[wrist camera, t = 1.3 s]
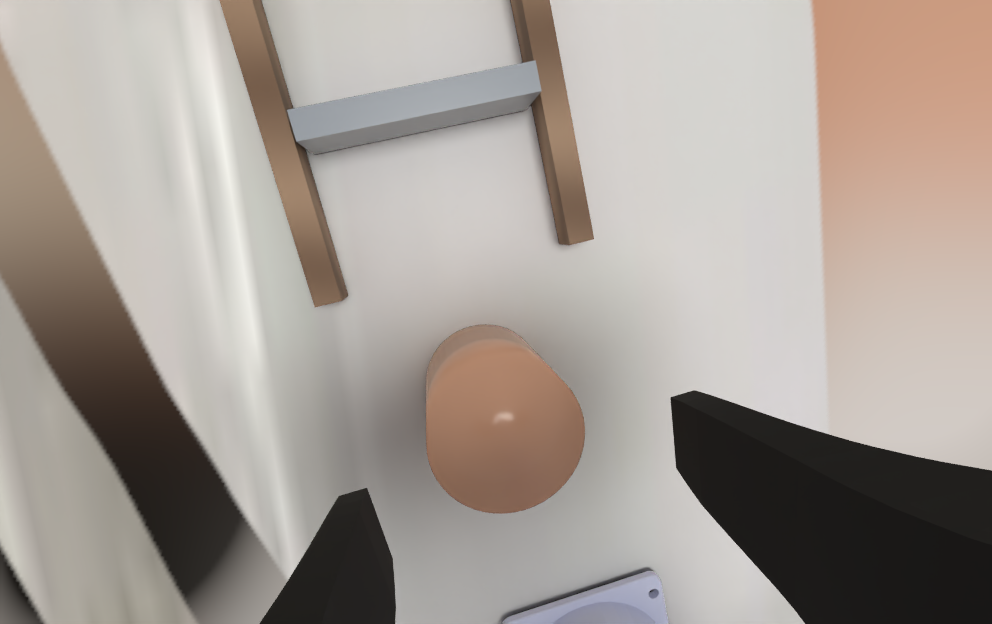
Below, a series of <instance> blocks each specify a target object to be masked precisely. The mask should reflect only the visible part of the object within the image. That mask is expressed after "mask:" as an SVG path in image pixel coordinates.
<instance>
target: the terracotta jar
mask: <svg viewBox="0 0 992 624" xmlns="http://www.w3.org/2000/svg"><path fill="white" fill-rule="evenodd" d="M584 439H585V425H584V418H583V414H582V411H581V408H580V405H579V403H578V401H577V399H576V397H575V396H574V394H573V392H572V391H571V390H570V388H569V387H568V386H567V385H566V384H565V383H564V382H563V380H562V379H561V378H560V377H559V376H558V375H557V374H556V373H555V372H554V371H553V370H552V369H551V368H550V367H549V366H548V365H547V364H546V363H545V361H544V360H543V359H542V358H541V357H540V356H539V355H538V354H537V353H536V352H535V351H534V350H533V349H532V348H531V347H530V346H529V345H528V343H527V342H526V341H525V340H523V339H522V338H521V337H520V336H519V335H517V334H516V333H514V332H513V331H511V330H509V329H506V328H503V327H501V326H496V325H486V324H485V325H475V326H470V327H467V328H464V329H462V330H459V331H457V332H456V333H454V334H452V335H451V336H449V337H448V338H447V339H446V340H445V341H444V342H443V343H442V344H441V345H440V346H439V347H438V348H437V350H436V351H435V353H434V354H433V356H432V358H431V360H430V363H429V366H428V370H427V375H426V445H427V455H428V460H429V464H430V466H431V469H432V472H433V474H434V476H435V477H436V479H437V481H438V482H439V484H440V485H441V486H442V488H443V489H444V490H445V491H446V492H447V493H448V494H449V495H450V496H452V497H453V498H454V499H455V500H457V501H458V502H460V503H462V504H464V505H465V506H468V507H470V508H472V509H475V510H479V511H482V512H488V513H512V512H518V511H522V510H526V509H528V508H531V507H534V506H536V505H538V504H540V503H542V502H544V501H545V500H547V499H548V498H550V497H551V496H552V495H554V494H555V493H556V492H557V491H558V490H559V489H560V488H561V487H562V486H563V485H564V484H565V483H566V482H567V481H568V479H569V478H570V476H571V475H572V474H573V472H574V470H575V468H576V467H577V465H578V462H579V460H580V457H581V454H582V450H583V447H584Z"/></svg>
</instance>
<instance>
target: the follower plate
mask: <svg viewBox="0 0 992 624" xmlns="http://www.w3.org/2000/svg"><path fill="white" fill-rule="evenodd" d="M541 91H542V90H541V85H540V80H539V75H538V70H537V65H536V60H535V61H530V62H525V63H520V64H515V65H510V66H505V67H500V68H495V69H490V70H485V71H480V72H475V73H470V74H465V75H460V76H455V77H450V78H445V79H440V80H435V81H430V82H424V83H419V84H414V85H409V86H404V87H399V88H394V89H389V90H384V91H379V92H374V93H369V94H364V95H359V96H354V97H349V98H344V99H339V100H334V101H329V102H324V103H319V104H314V105H309V106H304V107H299V108H294V109H289V110H287V112H288V115H289V119H290V122H291V125H292V129H293V132H294V135H295V139H296V142H298V143H299V144H300V145H302V146H303V147H304V148H306V149H307V150H308V151H310V152H311V153H313V154H314V155H315V154H319V153H324V152H329V151H334V150H338V149H343V148H348V147H353V146H357V145H362V144H367V143H372V142H377V141H381V140H386V139H391V138H396V137H400V136H405V135H410V134H415V133H419V132H424V131H429V130H434V129H438V128H443V127H448V126H453V125H457V124H462V123H467V122H472V121H477V120H481V119H486V118H491V117H496V116H500V115H505V114H510V113H515V112H519V111H524V110H527V109H528V107H529V106H530V105H531V104H532V102H533V101H534V100H535V99H536V97H537V96H538V95H539V94H540V92H541Z"/></svg>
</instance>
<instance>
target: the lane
mask: <svg viewBox="0 0 992 624" xmlns="http://www.w3.org/2000/svg"><path fill="white" fill-rule="evenodd" d="M510 1H511V6H512V11H513V16H514V21H515V26H516V31H517V36H518V41H519V46H520V51H521V56H522V61H523V63H525V62H530V61H535V60H536V65H537V70H538V75H539V80H540V85H541V90H542V91H541V92H540V94H539V95H538V96H537V97H536V99H535V100H534V101H533V102H532V104H531V105H532V110H533V115H534V120H535V125H536V130H537V135H538V140H539V145H540V150H541V155H542V160H543V165H544V170H545V175H546V180H547V185H548V190H549V195H550V200H551V205H552V210H553V215H554V220H555V225H556V230H557V235H558V240H559V244H564V245H572V244H576V243H580V242H584V241H588V240H592V239H594V236H593V231H592V225H591V220H590V215H589V209H588V204H587V199H586V193H585V188H584V183H583V177H582V172H581V166H580V161H579V156H578V150H577V145H576V140H575V134H574V129H573V123H572V118H571V113H570V107H569V102H568V97H567V91H566V86H565V81H564V75H563V70H562V64H561V59H560V54H559V48H558V43H557V38H556V32H555V27H554V22H553V16H552V11H551V5H550V0H510ZM220 3H221V7H222V10H223V13H224V16H225V19H226V23H227V26H228V29H229V32H230V35H231V39H232V42H233V45H234V48H235V52H236V55H237V58H238V61H239V64H240V68H241V71H242V74H243V77H244V81H245V84H246V87H247V90H248V93H249V97H250V100H251V103H252V106H253V109H254V113H255V116H256V119H257V122H258V126H259V129H260V132H261V135H262V138H263V142H264V145H265V148H266V151H267V155H268V158H269V161H270V164H271V167H272V171H273V174H274V177H275V180H276V183H277V187H278V190H279V193H280V196H281V200H282V203H283V206H284V209H285V212H286V216H287V219H288V222H289V225H290V229H291V232H292V235H293V238H294V241H295V245H296V248H297V251H298V254H299V257H300V261H301V264H302V267H303V270H304V274H305V277H306V280H307V283H308V286H309V290H310V293H311V296H312V299H313V303H314V306H315V307H318V306H322V305H326V304H331V303H335V302H339V301H342V300H343V299H345V298H346V297H347V296H348V293H347V289H346V286H345V283H344V279H343V276H342V272H341V269H340V266H339V262H338V259H337V256H336V252H335V249H334V245H333V242H332V239H331V235H330V232H329V228H328V225H327V222H326V218H325V215H324V211H323V208H322V205H321V201H320V198H319V195H318V191H317V188H316V184H315V181H314V178H313V174H312V171H311V167H310V164H309V161H308V157H307V154H306V150H305V148H304V147H303V146H302V145H300V144H299V143H298V142H296V139H295V135H294V132H293V129H292V125H291V122H290V119H289V115H288V112H287V110H289V109H293V106H292V103H291V100H290V96H289V93H288V89H287V86H286V83H285V79H284V76H283V73H282V69H281V66H280V62H279V59H278V56H277V52H276V49H275V45H274V42H273V39H272V35H271V32H270V28H269V25H268V22H267V18H266V15H265V12H264V8H263V5H262V1H261V0H220Z"/></svg>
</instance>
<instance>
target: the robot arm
mask: <svg viewBox="0 0 992 624" xmlns="http://www.w3.org/2000/svg"><path fill="white" fill-rule="evenodd" d="M671 409H672V421H673V433H674V446H675V458H676V468H677V470H678V471H679V473H680V474H681V476H682V477H683V479H684V480H685V482H686V483H687V485H688V486H689V488H690V489H691V490H692V492H693V493H694V495H695V496H696V497H697V499H698V500H699V502H700V503H701V504H702V506H703V507H704V508H705V509H706V510H707V511H708V512H709V514H710V515H711V516H712V517H713V518H714V519H715V520H716V522H717V523H718V524H719V525H720V526H721V527H722V528H723V529H724V531H725V532H726V533H727V534H728V535H729V536H730V537H731V538H732V539H733V541H734V542H735V543H736V544H737V545H738V546H739V547H740V548H741V549H742V550H743V552H744V553H745V554H746V555H747V556H748V557H749V558H750V559H751V560H752V562H753V563H754V564H755V565H756V566H757V567H758V568H759V569H760V570H761V572H762V573H763V574H764V575H765V576H766V577H767V578H768V579H769V580H770V581H771V583H772V584H773V585H774V586H775V587H776V588H777V589H778V590H779V592H780V593H781V594H782V595H783V596H784V598H785V599H786V600H787V601H788V602H789V604H790V605H791V606H792V607H793V608H794V609H795V611H796V612H797V613H798V615H799V616H800V617H801V619H802V620H803V621H804V623H805V624H992V471H991V470H985V469H979V468H973V467H968V466H962V465H957V464H951V463H945V462H939V461H934V460H930V459H925V458H919V457H915V456H911V455H906V454H902V453H898V452H894V451H889V450H885V449H881V448H876V447H872V446H868V445H864V444H860V443H857V442H853V441H849V440H846V439H842V438H839V437H835V436H832V435H829V434H825V433H822V432H819V431H815V430H812V429H809V428H806V427H802V426H799V425H796V424H793V423H790V422H787V421H784V420H781V419H778V418H775V417H772V416H769V415H766V414H763V413H761V412H758V411H755V410H752V409H749V408H746V407H743V406H740V405H738V404H735V403H732V402H729V401H726V400H723V399H720V398H717V397H714V396H711V395H708V394H705V393H701V392H698V391H691V392H687V393H684V394H681V395H677V396H674V397H671ZM652 589H654V590H653V591H652V592H650V590H652ZM395 611H396V603H395V585H394V571H393V558H392V555H391V553H390V550H389V547H388V544H387V542H386V539H385V536H384V534H383V531H382V528H381V525H380V523H379V520H378V517H377V514H376V512H375V509H374V506H373V503H372V501H371V498H370V495H369V492H368V490H367V488H365V489H362V490H358V491H355V492H351V493H348V494H345V495H341V496H339V497H338V498H337V500H336V502H335V503H334V505H333V507H332V508H331V510H330V512H329V513H328V515H327V517H326V518H325V520H324V522H323V524H322V525H321V527H320V529H319V530H318V532H317V534H316V536H315V537H314V539H313V541H312V542H311V544H310V546H309V547H308V549H307V551H306V552H305V554H304V556H303V557H302V559H301V561H300V562H299V564H298V565H297V567H296V569H295V570H294V572H293V574H292V575H291V577H290V578H289V580H288V582H287V583H286V585H285V586H284V588H283V590H282V591H281V593H280V594H279V596H278V597H277V599H276V600H275V602H274V603H273V604H272V606H271V608H270V609H269V610H268V612H267V613H266V615H265V616H264V618H263V619H262V621H261V622H260V624H395ZM502 624H669V621H668V616H667V611H666V605H665V600H664V594H663V589H662V583H661V580H660V578H659V576H658V575H657V573H655V572H654V571H646V572H643V573H640V574H637V575H634V576H631V577H628V578H625V579H622V580H619V581H616V582H613V583H610V584H607V585H604V586H600V587H597V588H594V589H591V590H588V591H585V592H582V593H579V594H576V595H573V596H570V597H567V598H564V599H561V600H558V601H555V602H552V603H549V604H546V605H543V606H540V607H537V608H534V609H530V610H527V611H524V612H521V613H518V614H515V615H512V616H509V617H507V618H506V619H505V620H504V621H503V623H502Z"/></svg>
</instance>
